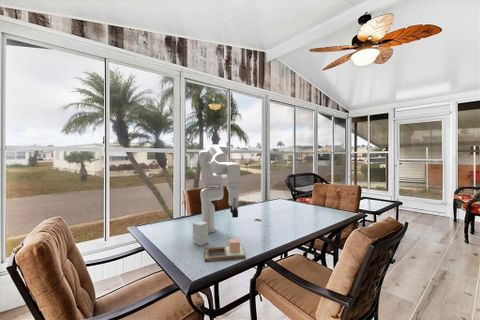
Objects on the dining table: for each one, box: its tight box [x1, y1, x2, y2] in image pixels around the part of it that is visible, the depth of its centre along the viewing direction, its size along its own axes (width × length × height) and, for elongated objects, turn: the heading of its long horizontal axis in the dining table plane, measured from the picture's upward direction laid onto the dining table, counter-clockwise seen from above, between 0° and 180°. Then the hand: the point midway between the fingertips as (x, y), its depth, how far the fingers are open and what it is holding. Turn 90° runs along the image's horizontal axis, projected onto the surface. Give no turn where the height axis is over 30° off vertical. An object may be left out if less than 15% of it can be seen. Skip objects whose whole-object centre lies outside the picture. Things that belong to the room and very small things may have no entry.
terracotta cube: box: [228, 238, 241, 253], centre depth 127 cm, size 6×6×6 cm
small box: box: [192, 220, 209, 247], centre depth 142 cm, size 8×6×13 cm
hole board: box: [204, 244, 247, 263], centre depth 126 cm, size 14×22×2 cm, turn 98°
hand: (234, 214), depth 126 cm, fingers open, 9 cm apart
